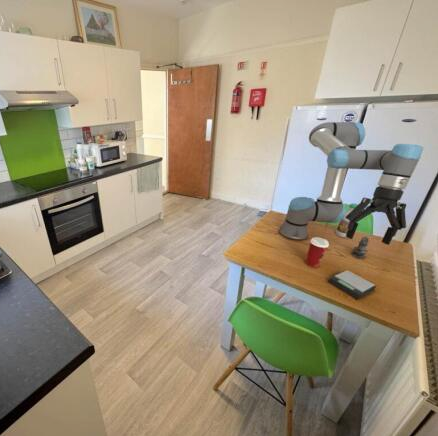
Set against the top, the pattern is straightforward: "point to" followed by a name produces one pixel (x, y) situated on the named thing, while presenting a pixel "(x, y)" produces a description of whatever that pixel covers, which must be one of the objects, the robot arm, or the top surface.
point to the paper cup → (316, 251)
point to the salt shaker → (361, 248)
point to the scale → (352, 284)
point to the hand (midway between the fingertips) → (366, 240)
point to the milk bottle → (344, 222)
